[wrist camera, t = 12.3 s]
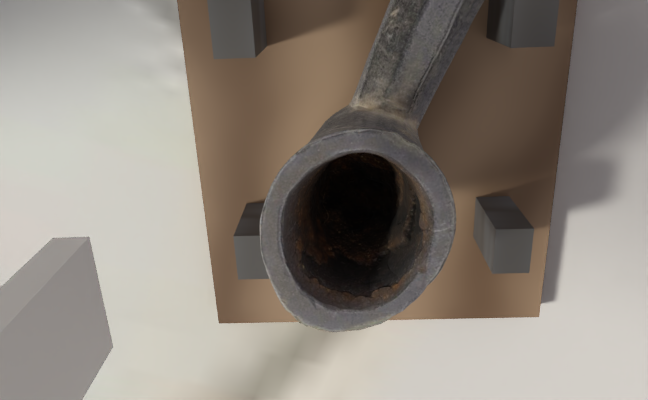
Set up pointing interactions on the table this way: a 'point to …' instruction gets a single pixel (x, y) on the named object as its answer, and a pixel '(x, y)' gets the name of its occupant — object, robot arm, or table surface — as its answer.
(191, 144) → the table surface
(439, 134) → the collar cradle
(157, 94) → the table surface
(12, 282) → the robot arm
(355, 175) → the pipe
